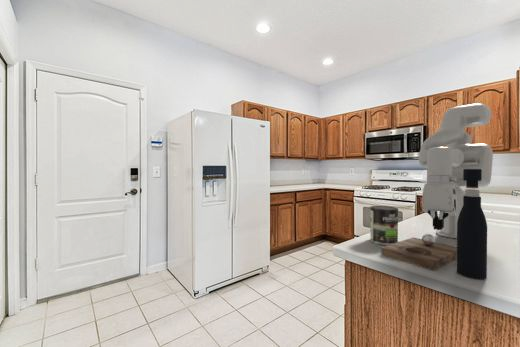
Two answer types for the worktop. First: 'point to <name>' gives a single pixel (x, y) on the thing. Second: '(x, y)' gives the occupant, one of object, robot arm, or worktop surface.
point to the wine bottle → (472, 230)
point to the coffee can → (384, 225)
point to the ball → (428, 239)
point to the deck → (421, 253)
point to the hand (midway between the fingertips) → (438, 229)
